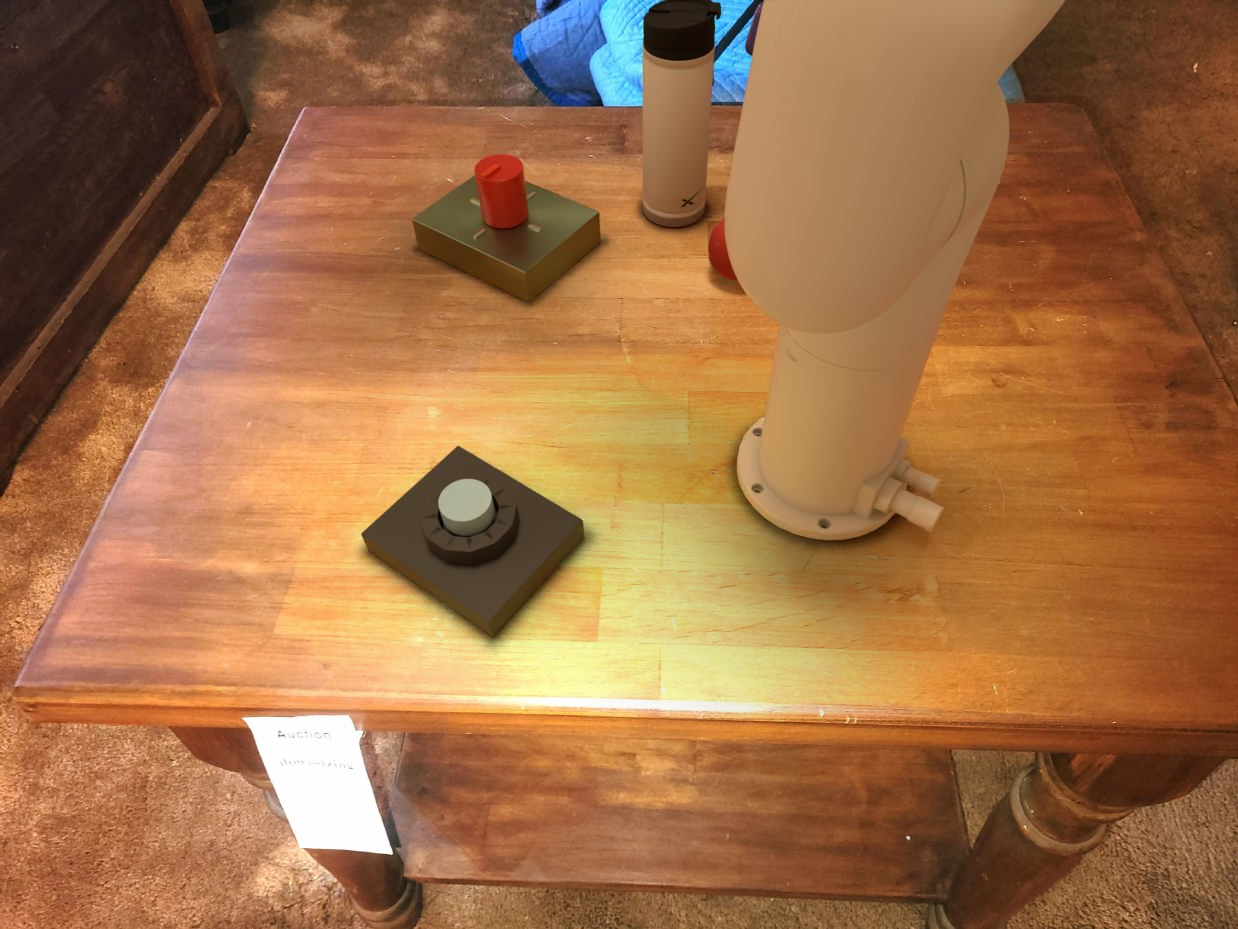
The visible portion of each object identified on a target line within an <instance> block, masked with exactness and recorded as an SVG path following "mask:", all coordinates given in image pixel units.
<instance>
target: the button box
mask: <svg viewBox="0 0 1238 929" xmlns="http://www.w3.org/2000/svg"><path fill="white" fill-rule="evenodd" d="M462 479H474V480H478V481H481V482H482V483H484V484H485V485H486V486H487V487H488V488H489V489H490V491H491V495H492V499H493V504H494V508H495V516H494V519H493V521H492V523H491V524H490V526H489V527H488V528H486V529H485V530H484V531H482V532H480V533H478V534H475V535H471V536H460V535H456V534H454V533H452V532H450V531H449V530H448V529H447V528H446V527H445V525H444V523H443V519H442V516H441V513H440V509H439V505H438V501H439V497H440V494H441V493H442V491H443V490H444V489H445V488H446V487H447V486H448V485H450V484H451V483H453V482H455V481H458V480H462ZM360 536H361V537H362V540H363V542H364V544H365V547H366V549H367V552H369V553H370V554H372V555H374V556H375V557H376V558H377V559H379V560H381V561H382V563H383V562H384V563H385V564H386V565H388V566H389V567H390V568H392V569H394V570H395V571H396V572H398V573H399V574H401V576H403V577H405V578H406V579H408V580H409V581H410V582H412V583H413V584H415V586H418V587H419V588H421V589H422V590H423V591H425V592H426V593H427V594H429V595H431V596H432V597H433V598H435V599H436V600H438V601H439V602H441V603H442V604H443V605H445V606H446V607H448V608H449V609H451V610H452V611H453V612H455V613H456V614H458V615H459V616H461V617H462V618H464V619H465V620H467V621H468V622H469V623H471V624H472V625H473V626H475V627H476V628H478V629H479V630H481V631H483V632H484V633H485V634H487V635H488V636H489V637H491V638H492V639H493V638H495V636H496V635H497V634H498V633H499V632H500V631H501V630H502V629H503V627H504V626H505V625H506V624H507V623H508V622H509V621H510V620H511V619H512V618H513V616H514V615H515V614H517V612H518V611H519V610H520V609H521V608H522V607H523V605H524V604H525V603H526V602H528V600H529V599H530V598H531V597H532V596H533V595H534V593H535V592H536V591H537V590H538V589H539V588H540V587H541V586H542V585H543V584H544V582H545V581H546V580H547V579H548V578H549V577H550V576H551V575H552V574H553V572H554V571H555V570H556V569H557V568H558V567H559V566H560V565H561V564H562V563H563V561H564V560H565V559H567V557H568V556H569V555H570V554H571V553H572V552H573V550H575V548H576V547H577V546H579V544H580V543H581V542H582V540H583V539H584V538H585V528H584V520H583V519H582V518H580V517H578V516H577V515H576V514H574V513H572V512H570V511H569V510H567V509H565V508H564V507H562V506H560V505H559V504H557V503H555V502H554V501H552V500H550V499H548V498H547V497H545V496H544V495H542V494H540V493H539V492H537V491H535V490H533V489H532V488H530V487H529V486H527V485H525V484H524V483H522V482H521V481H518V480H517V479H515V478H513V477H512V476H510V475H509V474H507V473H505V472H503V471H501V470H500V469H498V468H497V467H495V466H493V465H492V464H490V463H488V462H487V461H485V460H483V458H480V457H478V456H476V455H475V454H474V453H471V452H470V451H468V450H466V449H465V448H463V447H462V446H460V445H457V446H456V447H455V448H453V449H452V450H451V451H450V452H449V453H448V454H447V455H446V456H444V458H442V459H441V460H440V461H439V462H438V463H437V464H436V465H435V466H433V467H432V469H430V470H429V471H428V472H427V473H426V474H425V475H424V476H423V477H422V478H420V479H419V480H418V481H417V482H416V483H415V484H414V485H413V486H411V488H409V489H408V490H407V491H406V492H405V493H404V494H403V495H402V496H400V497H399V499H397V500H396V501H395V502H394V503H393V504H392V505H391V506H389V507H388V509H386V510H385V511H384V512H383V513H382V514H381V515H380V516H379V517H377V518H376V519H375V520H374V521H373V522H372V523H371V524H370V525H369V526H368V527H366V528H365V529H364V530H363V531H361V533H360Z"/></svg>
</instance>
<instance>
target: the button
mask: <svg viewBox="0 0 1238 929" xmlns="http://www.w3.org/2000/svg"><path fill="white" fill-rule="evenodd" d="M438 505H439V509H440V513H441V516H442V519H443V523H444V525H445V527H446V528H447V529H448V530H449V531H450V532H452V533H454V534H456V535H460V536H471V535H475V534H478V533H480V532H482V531H484V530H485V529H486V528H488V527H489V526H490V524H491V523H492V521H493V519H494V516H495V508H494V504H493V499H492V495H491V491H490V489H489V488H488V487H487V486H486V485H485V484H484V483H482V482H481V481H478V480H474V479H462V480H458V481H455V482H453V483H451V484H450V485H448V486H447V487H446V488H445V489H444V490H443V491H442V493H441V494H440V497H439V501H438Z"/></svg>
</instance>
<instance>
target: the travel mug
mask: <svg viewBox="0 0 1238 929" xmlns="http://www.w3.org/2000/svg"><path fill="white" fill-rule="evenodd" d="M647 10H648V11H647V12H646V13H645V14H644V15H643V19H642V33H643V36H642V37H643V38H642V212H643V214H644V216H645V217H646V218H647V219H648V220H649V221H651V222H652V223H654V224H656V225H659V226H661V227H667V228H681V227H687V226H689V225H693V224H694V223H696V222H697V221H699V220H700V219H701V218H702V216H703V215H704V213H705V210H706V195H707V194H706V193H707V178H708V164H709V148H710V133H711V132H710V130H711V117H712V116H711V115H712V99H713V84H714V82H713V81H714V66H715V51H716V50H715V49H716V42H715V40H716V39H715V38H716V21H718V20H720V19H721V17H722V3H721V2H720V1H719V2H718V1H713V0H661V1H658V2H656V3H654V4H653V5H651V6H650V7H649V8H648V9H647Z"/></svg>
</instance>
